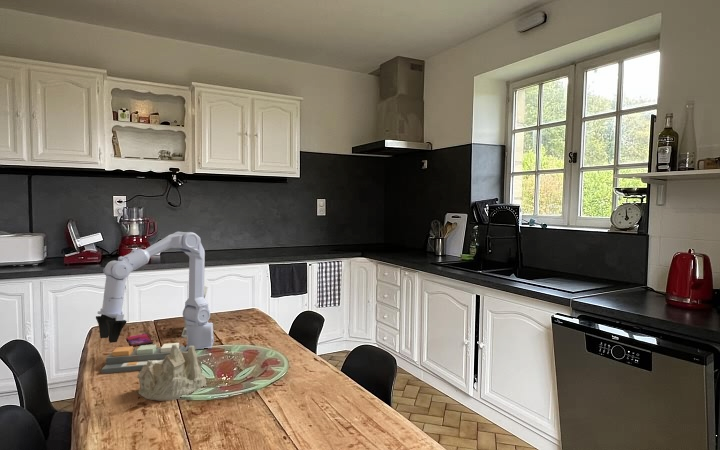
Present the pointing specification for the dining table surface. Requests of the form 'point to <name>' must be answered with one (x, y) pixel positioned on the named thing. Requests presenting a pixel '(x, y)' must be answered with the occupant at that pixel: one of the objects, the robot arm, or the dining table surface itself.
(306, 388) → the dining table surface
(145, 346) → the sage key
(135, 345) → the smartphone
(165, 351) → the cream key
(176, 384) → the ceramic cottage
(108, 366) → the keypad
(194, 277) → the robot arm
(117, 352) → the orange key
